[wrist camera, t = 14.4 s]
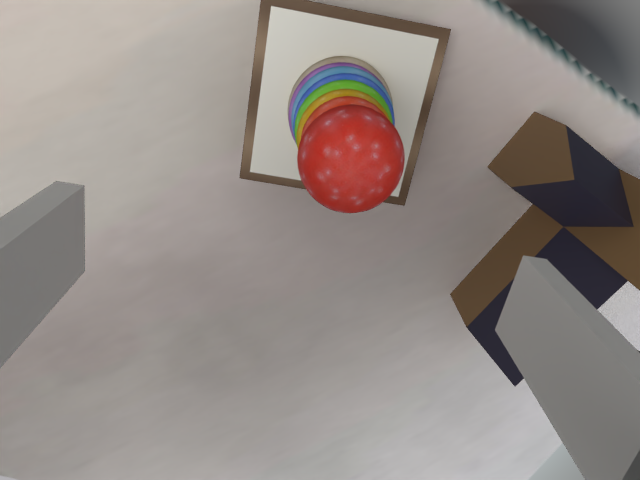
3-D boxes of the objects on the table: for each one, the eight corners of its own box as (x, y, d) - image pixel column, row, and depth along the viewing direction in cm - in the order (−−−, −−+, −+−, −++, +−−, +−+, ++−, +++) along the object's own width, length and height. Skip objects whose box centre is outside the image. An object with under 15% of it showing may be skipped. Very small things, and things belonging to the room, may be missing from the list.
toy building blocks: (626, 186, 49) (904, 337, 26) (493, 322, 55) (623, 541, 32) (533, 111, 46) (757, 207, 23) (403, 263, 52) (477, 460, 29)
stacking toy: (407, 78, 38) (486, 128, 21) (366, 174, 41) (405, 286, 24) (309, 38, 37) (307, 56, 20) (274, 139, 40) (245, 232, 23)
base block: (393, 184, 48) (405, 207, 42) (247, 159, 47) (238, 179, 41) (433, 27, 43) (452, 29, 37) (268, -6, 41) (261, -9, 35)
